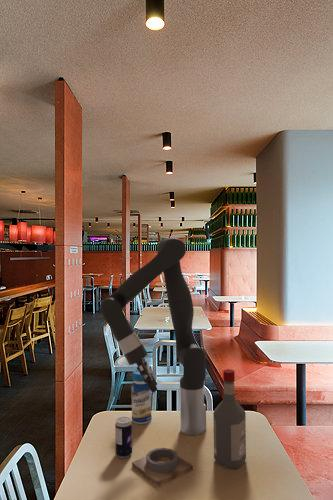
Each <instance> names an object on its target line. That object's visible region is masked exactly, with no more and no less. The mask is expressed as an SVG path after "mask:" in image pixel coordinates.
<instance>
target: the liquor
mask: <svg viewBox="0 0 333 500" xmlns="http://www.w3.org/2000/svg"><path fill="white" fill-rule="evenodd" d="M222 375H223V396H222V400H221V402H219V403H218V405H217V406H216V407H215V409H214V410H213V458H214V461H215V463H216V464H217V465H218V466H222V467H224V468H227V469H229V470H234V469H239V468H240V467H241V466H242V465H243V464H244V463H245V461H246V459H247V434H246V433H247V430H246V429H247V428H246V426H247V425H246V424H247V423H246V422H247V421H246V420H247V419H246V412H245V411H246V410H245V408H244V407H243V406H241V404H240V403H239V402H238V401H237V400H236V396H235V380H236V379H235V370H233V369H230V368H229V369H223V374H222Z"/></svg>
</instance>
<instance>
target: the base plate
mask: <svg viewBox="0 0 333 500" xmlns="http://www.w3.org/2000/svg"><path fill="white" fill-rule="evenodd" d="M171 460H172V459H170V458H167V457H157V458H155V459H153V460H152V461H154V462H157V463H167V462H169V461H171ZM131 467H132V468H133V469H134V470H136V471H137V472H138V473H140V474H141V475H142V476H143V477H145V478H146V479H147V480H148V481H150V483H152V484H154V486H156V487H158V488H160V487H162V486H163V485H165V484H167V483H169V482H171V481H173V480H175V479H177V478H179V477H181V476H183V475H186V474H187V473H189V472H191V471H193V470H194V465H193V464H192V463H190V462H188V461H187V460H186V459H184V458H182V457H181V456H179V455H178V465H177V467H176V469H174V470H172V471H170V472H165V473H158V472H153V471H151V470H150V469H148V468H147V464H146V455H145V456H143V457H141V458H139V459H136V460H134V461H131Z"/></svg>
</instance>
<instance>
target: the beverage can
mask: <svg viewBox="0 0 333 500" xmlns="http://www.w3.org/2000/svg"><path fill="white" fill-rule="evenodd" d="M115 421H116V422H115V426H114V428H115V429H114V432H115V434H114V435H115V438H114V439H115V454H116V456H118V457H119V458H121V459H126V458H129V457H130V456H131V454H133V423H132V422H133V421H132V418H130V417H127V416H122V417H121V416H120V417H118V418H117V419H116V420H115Z"/></svg>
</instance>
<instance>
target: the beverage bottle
mask: <svg viewBox="0 0 333 500" xmlns="http://www.w3.org/2000/svg"><path fill="white" fill-rule="evenodd" d="M132 379H133V383H132V385H131V388H130V389H131V393H130V397H131V422H133V423H134V424H138V425H145V424H149V423H150V422H151V421H152V419H153V418H152V394H153V393H152V392H151V390H150V388H149V386H148V385H147V384H146V383H145V382H144V380H143V378H142V377H141V375H140V373H139V372H138V370H137V369H136V370H134V371H132Z"/></svg>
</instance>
